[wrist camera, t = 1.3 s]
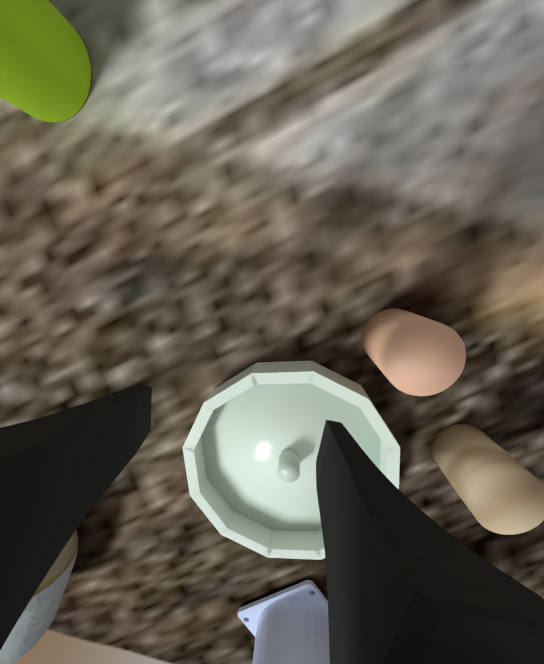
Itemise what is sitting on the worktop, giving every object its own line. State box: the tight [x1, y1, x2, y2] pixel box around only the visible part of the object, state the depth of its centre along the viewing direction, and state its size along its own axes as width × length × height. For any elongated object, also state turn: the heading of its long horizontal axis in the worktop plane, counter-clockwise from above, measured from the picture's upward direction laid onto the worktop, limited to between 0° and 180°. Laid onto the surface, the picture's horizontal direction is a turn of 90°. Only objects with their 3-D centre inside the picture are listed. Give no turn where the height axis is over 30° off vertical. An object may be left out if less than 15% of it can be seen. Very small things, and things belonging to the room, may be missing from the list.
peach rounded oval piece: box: [362, 308, 466, 396], centre depth 16 cm, size 4×4×5 cm
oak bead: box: [431, 424, 544, 535], centre depth 18 cm, size 4×4×5 cm
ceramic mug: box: [0, 530, 78, 664], centre depth 22 cm, size 11×8×8 cm
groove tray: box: [183, 361, 400, 560], centre depth 20 cm, size 15×15×2 cm
